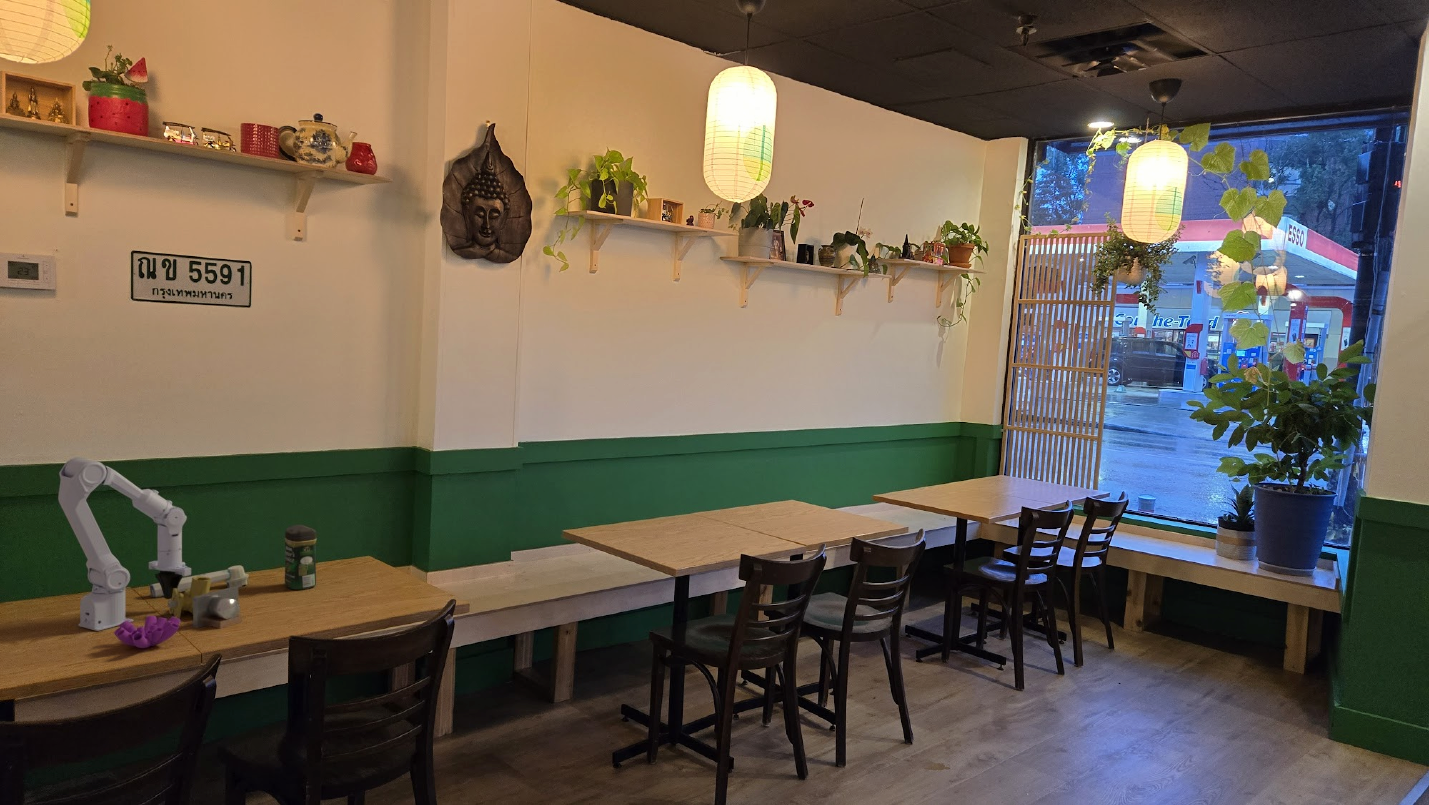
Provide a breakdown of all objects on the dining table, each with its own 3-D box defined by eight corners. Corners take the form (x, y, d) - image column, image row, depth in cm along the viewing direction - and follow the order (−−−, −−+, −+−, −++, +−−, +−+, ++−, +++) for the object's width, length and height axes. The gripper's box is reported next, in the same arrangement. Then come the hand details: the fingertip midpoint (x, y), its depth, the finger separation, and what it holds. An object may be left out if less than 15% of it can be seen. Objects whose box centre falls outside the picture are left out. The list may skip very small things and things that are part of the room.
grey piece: (148, 582, 266) (243, 559, 282) (152, 604, 267) (246, 580, 283) (152, 586, 262) (248, 563, 278) (155, 609, 263) (251, 584, 279)
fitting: (210, 631, 238) (210, 601, 237) (193, 627, 240) (193, 597, 240) (251, 619, 249) (251, 590, 248) (233, 615, 251) (234, 586, 251)
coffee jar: (280, 585, 282) (281, 525, 280) (307, 580, 287) (307, 522, 286) (292, 592, 275) (293, 530, 273) (319, 587, 280) (320, 527, 279)
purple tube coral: (112, 665, 221) (100, 628, 224) (177, 648, 234) (165, 614, 236) (131, 645, 216) (118, 608, 218) (196, 629, 228) (184, 595, 231)
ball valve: (199, 608, 258) (159, 610, 251) (206, 572, 258) (166, 572, 251) (215, 623, 250) (173, 625, 242) (222, 585, 249) (180, 586, 242)
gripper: (201, 549, 253) (201, 598, 254) (165, 543, 259) (165, 590, 260) (177, 555, 246) (177, 605, 247) (141, 547, 252) (141, 596, 253)
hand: (169, 598), depth 253 cm, fingers closed
